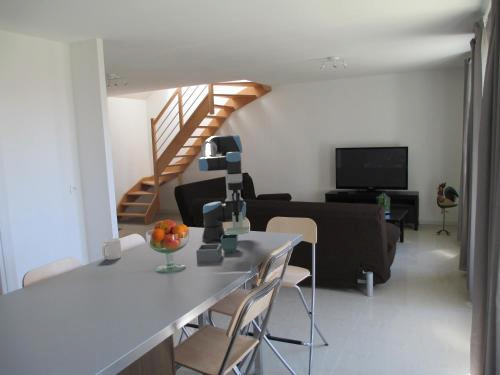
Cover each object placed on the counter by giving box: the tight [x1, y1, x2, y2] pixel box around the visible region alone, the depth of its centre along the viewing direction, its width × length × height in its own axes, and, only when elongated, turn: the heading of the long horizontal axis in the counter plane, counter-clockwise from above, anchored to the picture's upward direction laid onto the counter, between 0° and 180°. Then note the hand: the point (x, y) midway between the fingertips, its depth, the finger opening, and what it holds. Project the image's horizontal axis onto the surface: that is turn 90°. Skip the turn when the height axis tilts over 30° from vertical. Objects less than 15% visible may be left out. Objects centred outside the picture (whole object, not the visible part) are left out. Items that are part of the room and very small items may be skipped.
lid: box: [224, 212, 250, 236], centre depth 207 cm, size 13×12×10 cm
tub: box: [195, 243, 223, 264], centre depth 209 cm, size 12×11×7 cm
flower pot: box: [220, 234, 239, 253], centre depth 223 cm, size 9×9×9 cm
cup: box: [101, 237, 123, 261], centre depth 224 cm, size 8×12×10 cm
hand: (237, 227), depth 212 cm, fingers closed on lid, 2 cm apart
